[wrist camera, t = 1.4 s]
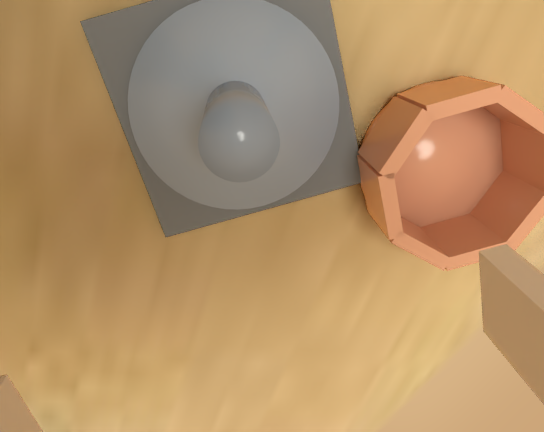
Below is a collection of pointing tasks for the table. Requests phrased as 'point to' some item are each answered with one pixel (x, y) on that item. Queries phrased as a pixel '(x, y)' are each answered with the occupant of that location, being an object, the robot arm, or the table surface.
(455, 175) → the bowl
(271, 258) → the table surface
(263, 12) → the lid
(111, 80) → the mat
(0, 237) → the table surface
